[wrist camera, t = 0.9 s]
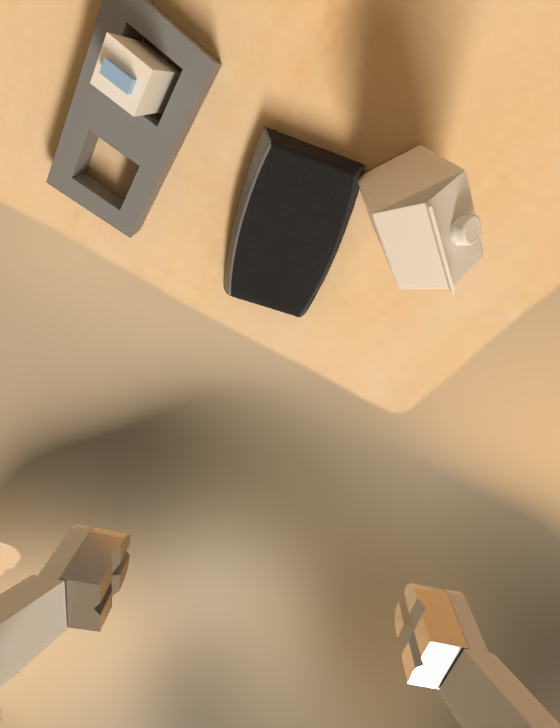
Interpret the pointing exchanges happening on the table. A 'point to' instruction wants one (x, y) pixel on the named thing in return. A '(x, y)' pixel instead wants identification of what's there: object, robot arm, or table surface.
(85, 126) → the socket panel
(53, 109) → the table surface
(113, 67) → the plug
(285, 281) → the external hard drive
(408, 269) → the milk carton
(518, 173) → the table surface
